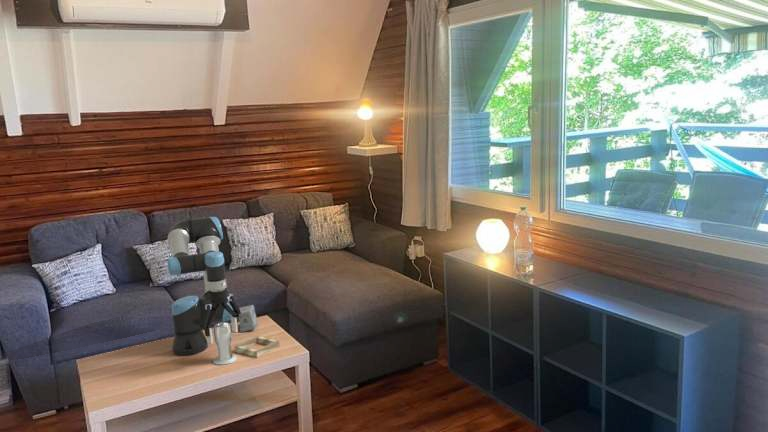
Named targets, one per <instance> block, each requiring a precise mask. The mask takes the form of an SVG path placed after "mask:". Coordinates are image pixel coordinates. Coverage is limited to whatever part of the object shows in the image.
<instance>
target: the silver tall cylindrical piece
mask: <svg viewBox="0 0 768 432" xmlns="http://www.w3.org/2000/svg"><path fill="white" fill-rule="evenodd" d="M213 334H214V340H215V344H216V347H217V352H218V355H217V356H218V360H219V361H229V360H231V359H232V358H233V355H232V354H233V353H232V339H233V338H232V335H233V334H232V326H231V322H228V321H224V322H217V323H215V324H214V325H213Z"/></svg>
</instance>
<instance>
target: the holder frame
mask: <svg viewBox="0 0 768 432" xmlns="http://www.w3.org/2000/svg"><path fill="white" fill-rule="evenodd" d="M256 344H262V345H264V346H263V347H261V348H259V349H254V348H251V347H252V346H255V345H256ZM279 347H281V346H280V340H275V339H271V338H268V337H263V336H260V335H257V336H254V337H252V338H250V339H248V340H246V341H243V342H242V343H240V344H237V345H235V346H234V349H235V351H234V352H235V353H238V354H243V355H245V354H246V356H249V357H253V358H260V357H262V356H264V355H265V354H268V353H270V352H272V351H273V350H275V349H277V348H279Z"/></svg>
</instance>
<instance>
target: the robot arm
mask: <svg viewBox="0 0 768 432" xmlns="http://www.w3.org/2000/svg"><path fill="white" fill-rule="evenodd" d="M223 239H224V233H223V229H222V225H221V222H220V220H219V218H218V217H217V216H206V217H198V218H192V219H191V218H190V219H189V218H187V219H183V220H180V221H178V222H177V223H175V224H174V225H172V227H171V228H170V229H169V230H168V233H167V242H168V244H169V245H170V251H171V252H170V253H171V257H168V258H167V260H166V261H167V270H168V274H169V275H170V276H179V275H185V274H191V273H192V274H193V273H200V272H202V275H203V281H204V288H205V292H204V293H203V294H202V298H199V296H197V295H187V296H184V297H181V298H179V299H177V300H175V301H174V302H172V304H171V315H172V322H173V329H174V337H173V343H172V346H171V349H172V353H173V354H174V355H176V356H181V357H182V356H193V355H196V354H199V353H202V352H204V351H205V350H207V349H208V347H209V345H208V344H214V341H213V331H212V328H211V326H212V324H218V323H222V322H228V321H230V326H231V332H233V333H239V332H238V324H239V319H238V318H237V317H239V314H241V311H240V310H239V308H240V307H239V306H238V305H237V303H236V302H235V299H234V294H232V293H230V291H229V289H227V287H228V286H227V279H226V266H225V258H224V254H223V252H221V251H220V249H219V245H220V244H221V240H223ZM189 244H195V246H196V248H199V253H196V254H191V253H190V249H189V248H190V246H189ZM203 330H204V332H203Z"/></svg>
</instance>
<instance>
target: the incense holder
mask: <svg viewBox="0 0 768 432" xmlns="http://www.w3.org/2000/svg"><path fill="white" fill-rule="evenodd" d="M238 308H239V310H240V311H241V314H239V317H237V319H238V323H239V326H240V327H239V330H240V333H244V332H248V331H254V330H255V329H256V327H257V325H258V318H257V314H256V311H255V310H256V309H255V306H254V304H251V305H246V306H243V307H242V306H241V307H238Z"/></svg>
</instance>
